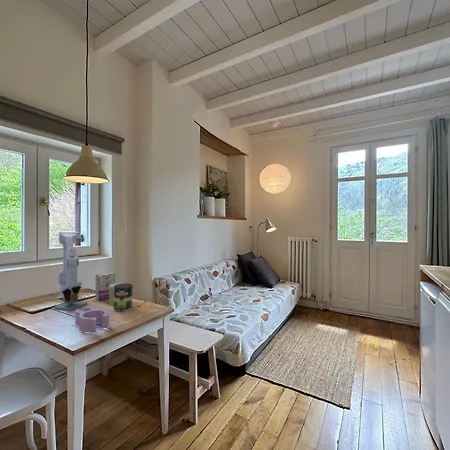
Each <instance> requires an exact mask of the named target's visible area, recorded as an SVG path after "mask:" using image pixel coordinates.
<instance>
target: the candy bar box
mask: <svg viewBox="0 0 450 450" xmlns="http://www.w3.org/2000/svg"><path fill="white" fill-rule="evenodd" d="M114 283H116V273H114V272H107V273H102V274H96V275H95V300H96V301H97V302H101V301H105V300H108V299H109V285H110V284H114Z"/></svg>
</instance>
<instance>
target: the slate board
mask: <svg viewBox="0 0 450 450" xmlns="http://www.w3.org/2000/svg"><path fill="white" fill-rule="evenodd" d="M86 305H88V302H86V301H78V302H75V303H73V304H66V303H64V302H63V303H61V304H59V305H55V306H54V308H53V310H60V311H66V312H67V311H68V312H75V311H76V310H77V309H80V308H82V307H86Z"/></svg>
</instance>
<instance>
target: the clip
mask: <svg viewBox="0 0 450 450" xmlns="http://www.w3.org/2000/svg"><path fill="white" fill-rule="evenodd" d="M83 308H84V309H83V310H84V311H81V309H80V308H78V309H76V310H74V313H75V315H74V316H75V317H74V318H75V321H74V324H76V325H78V326H77V327H78V331H79V330H80V331H82V332H92V333H95V332H96V333H97V324H98V322H99V323H102V324H101V329H102V328H108V327H109V328H110V314H108V313H109V312H108V311H107V310H105V309H96V308H94V307H92V306H83ZM96 323H97V324H96ZM76 325H75V326H76ZM80 331H79V332H80ZM82 332H81V333H82ZM92 333H91V334H92Z"/></svg>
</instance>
